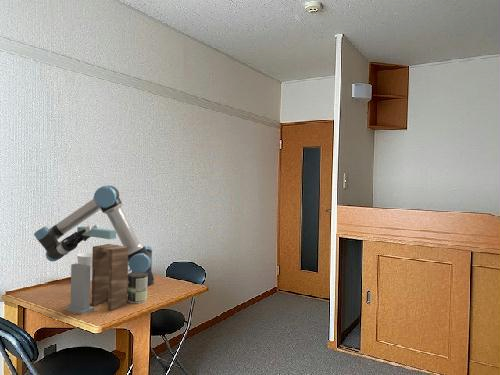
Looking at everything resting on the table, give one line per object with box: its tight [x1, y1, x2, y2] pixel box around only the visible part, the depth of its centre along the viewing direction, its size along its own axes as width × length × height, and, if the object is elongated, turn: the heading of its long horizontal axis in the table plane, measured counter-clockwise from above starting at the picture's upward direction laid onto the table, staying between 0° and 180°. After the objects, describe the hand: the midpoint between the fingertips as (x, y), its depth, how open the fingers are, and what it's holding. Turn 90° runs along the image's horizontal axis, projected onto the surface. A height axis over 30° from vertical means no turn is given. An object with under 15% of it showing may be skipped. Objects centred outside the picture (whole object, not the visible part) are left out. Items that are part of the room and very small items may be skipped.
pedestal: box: [64, 262, 95, 315], centre depth 181 cm, size 12×7×22 cm, turn 62°
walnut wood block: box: [90, 243, 128, 312], centre depth 189 cm, size 14×10×30 cm
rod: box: [76, 225, 117, 240], centre depth 193 cm, size 24×4×4 cm, turn 63°
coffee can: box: [127, 272, 148, 304], centre depth 199 cm, size 10×10×14 cm
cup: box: [76, 252, 93, 282], centre depth 233 cm, size 12×12×16 cm
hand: (93, 227), depth 194 cm, fingers closed on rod, 4 cm apart
